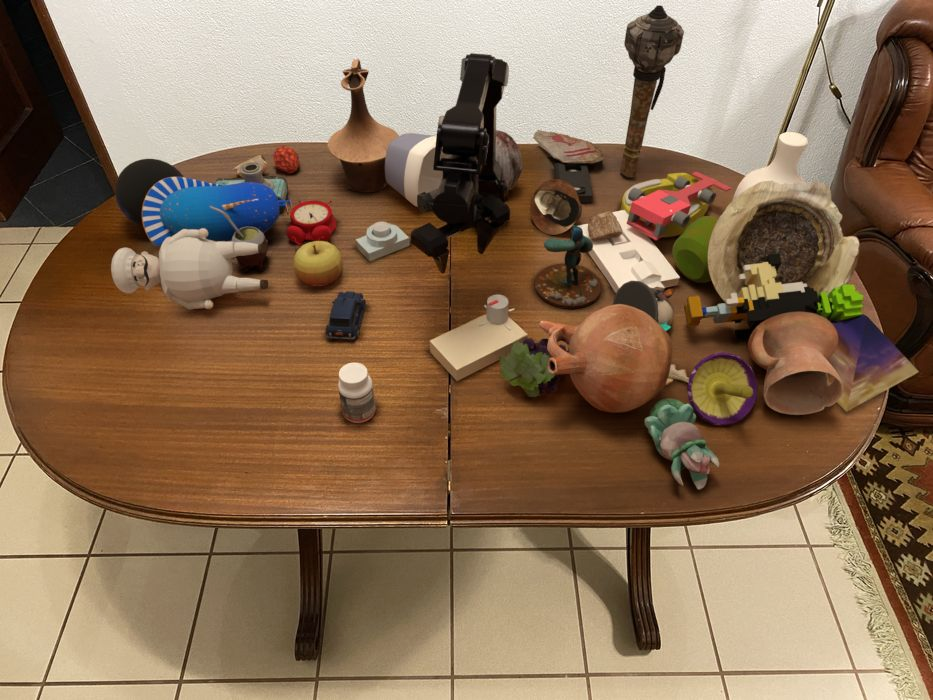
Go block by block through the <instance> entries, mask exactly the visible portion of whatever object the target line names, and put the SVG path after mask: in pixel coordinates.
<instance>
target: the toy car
mask: <svg viewBox="0 0 933 700" xmlns="http://www.w3.org/2000/svg"><path fill="white" fill-rule="evenodd" d="M331 303H332V308H331V311H330V314H329V322H328V324H326V327H325V337H326V338H327V339H328V340H332V339H338V340H339V341H342V340H343V339H344V340H349V341H353V340H355V339H356V338H358V337H359V332H360V327H361V323H362V320H363V316H364V312H365V310H366V307H367V305H366V304H367V302H366V299H365V298H364V294H363V293H362V292H355V291H353V290H352V291H349V290H346V291H345V292H343V291H339V292H338V293H337V296H336V297H335V298H334V300H333V301H332V302H331Z"/></svg>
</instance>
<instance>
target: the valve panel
mask: <svg viewBox="0 0 933 700" xmlns="http://www.w3.org/2000/svg"><path fill="white" fill-rule="evenodd" d="M483 307H484V308H485V309H487V304H484V305H483ZM515 309H516V308H511V309H508V313H511V312H513V311H515ZM525 338H529V334H528V333H527V332H526V331H525V330H524V329H523V328H521V327H520V325H518V324H517V323H516V322H515V321H514V320H513V319H512V318H511V317H510V316H509V315H508V318H507V320H506V322H504V323H502V324H493V323H490V322H489V321H488V320H487V313H485V314H483V315H481V316H479V317H476V318H475V319H472V320H470V321H468V322H466V323H463V324H462V325H460V326H457V327H456V328H453V329H451V330H449V331H447V332H445V333H442V334H440V335H439V336H436V337H434V338H432V339H430V340H429V352H430V354H431V355H432V357H434V358H435V359H436V360H437V361H438V362H439V363H440V365H441V366H442V367H443V368H444V369H445V370H446V371H447V372H448V373H449V375H451V377H452V378H453V379H454V381H456V382H459V381H460V380H462V379H464V378H466V377H468V376H470V375H472V374H474V373H476V372H478V371H480V370H482V369H484V368H486V367H488V366H490V365H491V364H494V363H495V362H498V361H500V359H499V356H502V357H508V356H507V353H509V354H511V348H512V349H513V347H512V346H513V345H514V343H515V341H516V340H517V341H518V342H519V343H520V344H521V343H522V342H523V340H524V339H525Z"/></svg>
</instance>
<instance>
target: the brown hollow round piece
mask: <svg viewBox="0 0 933 700" xmlns="http://www.w3.org/2000/svg"><path fill="white" fill-rule="evenodd" d="M529 207H530V217H531V220H532V222H533V223H534V225H535V227H536V228H537V229H538V230H539V231H541V232H543V233H545V234H547V235H553V236H555V235H561V234H564V233H565V232H567V231H568V230H569V229H571V226H573V225H575V224H576V223H577V222H578V221H580V219H581V217H582V214H583V205H582V203H580V201H579V197H578V195H577V192H576V191H575V189H574V188H573V186H572V185H570V184H569V183H568V182H566V181H564V180H560V179H555V178H553V179H548V180H546V181H545V182H543V183H542V184H540V185H539V186H538V187H537V188H536V190H534V192H533V195H532V197H531V200H530V205H529Z"/></svg>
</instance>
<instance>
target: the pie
mask: <svg viewBox="0 0 933 700" xmlns="http://www.w3.org/2000/svg"><path fill="white" fill-rule="evenodd" d="M805 182H806V183H799V182H798V183H794V184H787V183H784V184H781V185H780V184H779V183H775V182H774V181H763V182H759V183H757V184H755V185H753V186H751V187H750V188H748V189H747V190H745V191H744V192H742V193H741V194H740V195H738V196H737V197H736V198H735V199H734V200H733V199H732V200H733V201H731V202H730V203H729V204H728V205H727V206H726V207H725V209H724V211H723V212H722V214H721V215H720V216H719V217H718V218H719V219H718V221H717V222H716V224H715V226H714V228H713V231H712V234H711V237H710V242H709V247H708V268H709V273H710V276H711V282H712V284H713V287H714V289H715V291H716V292H717V294H718V295H719V297H720V298H721V300H722V301H723V302H724V303H725V300H726V299H730V294H731V293H737V298H739V297H738V293H739V292H740V290H741V288H744V287H748V285H745V281H739V279H738V276H739V274H745V272H744V270H743V267H744V265H750V264H759V263H762V262H764V261H765V259H766V258H767V256H768V255H769V254H777V253H780V257H781V262H782V263H781V265H780V266H779V268H778V269H777V270H776V273H777V276H776V278H774V279H775V283H779V282H781V284H788V283H797V282H803V284H807V287H808V286H810V288H814V291H817V294H818V295H819V293H820V292H827V296H828V295H829V293H830V292H831V291H832V290H833V289H834V287H841V285H843V284H848V285H849V283H850V281H851V279H852V277H853V276H854V273H855V270H856V268H857V265H858V261H859V257H860V254H861V243H860V239H859V238H858V237H857V236H852V235H850V236H849V235H848V236H844V233H843V229H842V227H841V224H840V223H841V221H842V219H843V214H842V213H841V212H840V211H839V208H838V206H837V205H836V204H835V202H834V201H833V200H832V194H831V188H830V186H829V185H828V184H826V183H824V182H822V181H818V180H816V181H814V180H813V181H812V180H811V181H805Z"/></svg>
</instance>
